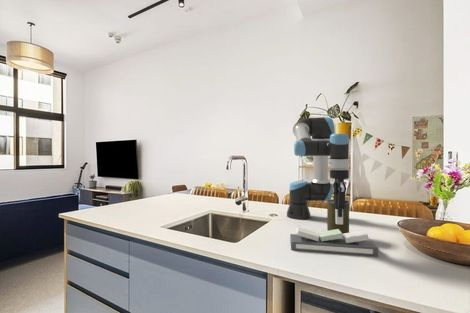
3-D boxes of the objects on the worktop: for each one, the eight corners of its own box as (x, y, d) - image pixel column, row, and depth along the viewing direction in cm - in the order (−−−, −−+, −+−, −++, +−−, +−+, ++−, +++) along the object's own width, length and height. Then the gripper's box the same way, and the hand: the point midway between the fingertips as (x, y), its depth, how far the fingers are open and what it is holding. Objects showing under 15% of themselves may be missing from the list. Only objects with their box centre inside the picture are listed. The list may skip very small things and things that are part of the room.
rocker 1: (296, 230, 108) (297, 226, 108) (316, 236, 106) (317, 232, 106) (297, 235, 102) (298, 230, 102) (318, 241, 100) (319, 236, 100)
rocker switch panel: (290, 241, 110) (290, 231, 110) (368, 246, 103) (368, 236, 103) (291, 250, 100) (291, 239, 100) (378, 256, 93) (378, 245, 93)
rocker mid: (319, 236, 106) (317, 232, 106) (339, 233, 104) (338, 228, 104) (321, 241, 100) (320, 237, 100) (343, 237, 98) (341, 233, 98)
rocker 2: (342, 238, 104) (341, 233, 104) (364, 234, 102) (362, 230, 102) (346, 243, 98) (345, 238, 98) (369, 239, 96) (367, 234, 96)
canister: (336, 240, 111) (336, 198, 111) (322, 233, 121) (322, 195, 121) (355, 238, 114) (355, 197, 114) (340, 231, 124) (340, 194, 124)
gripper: (327, 168, 108) (327, 219, 108) (333, 170, 95) (333, 227, 95) (344, 168, 107) (344, 220, 107) (353, 170, 94) (353, 228, 94)
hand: (339, 223), depth 101 cm, fingers closed
